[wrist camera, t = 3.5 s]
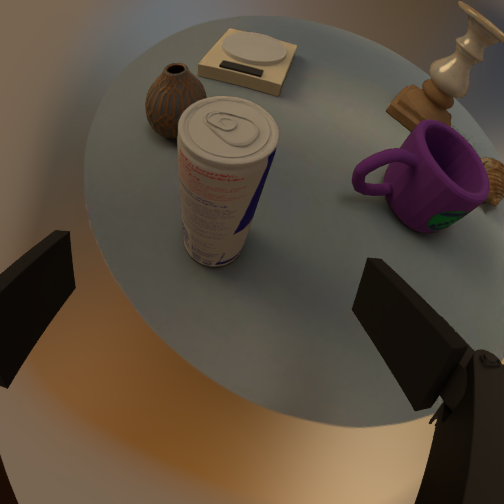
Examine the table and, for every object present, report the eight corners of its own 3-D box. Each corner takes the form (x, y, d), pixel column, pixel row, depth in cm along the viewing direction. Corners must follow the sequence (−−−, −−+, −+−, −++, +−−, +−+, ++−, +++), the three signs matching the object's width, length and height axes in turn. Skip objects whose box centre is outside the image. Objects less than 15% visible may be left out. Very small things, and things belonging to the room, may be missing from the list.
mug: (426, 169, 39) (464, 127, 30) (453, 239, 35) (503, 204, 26) (323, 158, 35) (356, 99, 26) (347, 244, 31) (398, 194, 22)
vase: (136, 129, 33) (128, 72, 25) (177, 101, 36) (177, 46, 28) (175, 157, 32) (173, 96, 24) (217, 125, 35) (224, 67, 27)
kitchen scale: (197, 75, 38) (198, 59, 36) (228, 38, 44) (230, 24, 41) (277, 96, 39) (282, 80, 36) (294, 55, 45) (298, 42, 42)
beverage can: (245, 267, 28) (289, 165, 15) (184, 269, 27) (174, 164, 14) (240, 213, 31) (273, 95, 17) (183, 215, 30) (179, 92, 16)
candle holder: (437, 153, 41) (521, 53, 19) (384, 111, 42) (454, -2, 21) (447, 128, 45) (514, 42, 24) (402, 91, 47) (459, -2, 25)
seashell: (494, 195, 42) (468, 162, 43) (519, 177, 36) (493, 141, 36) (488, 222, 38) (460, 185, 39) (519, 203, 32) (490, 162, 32)
